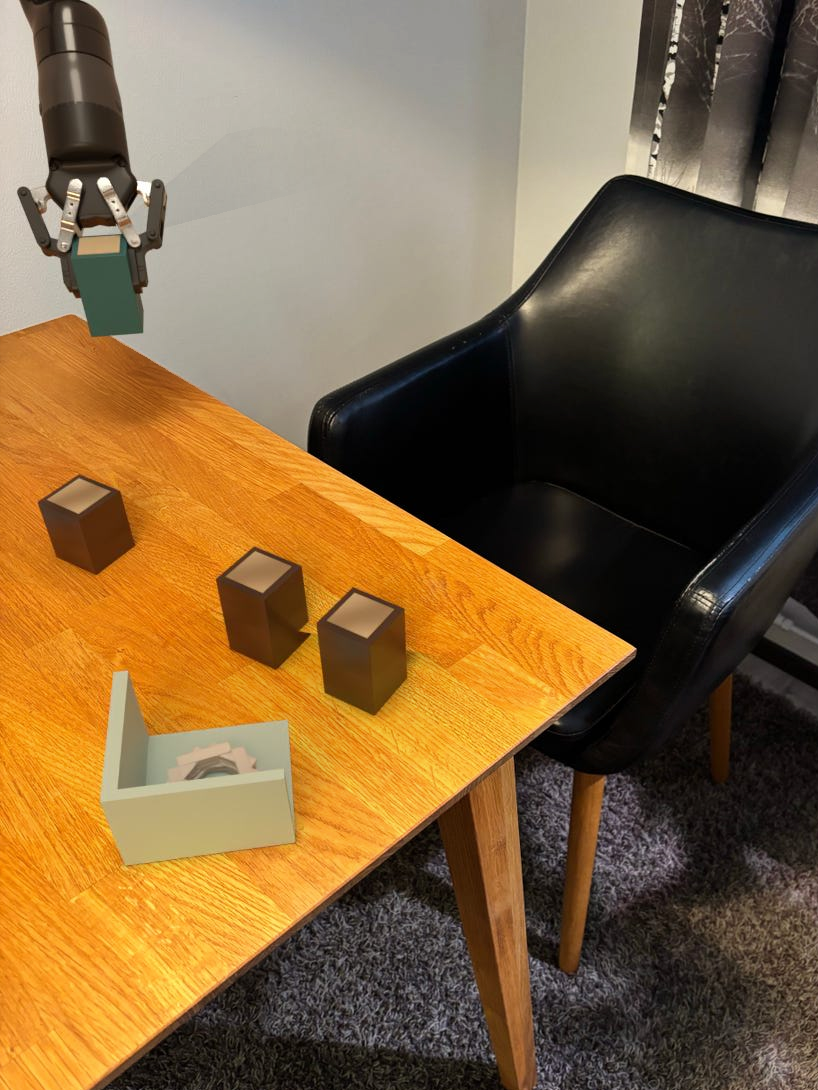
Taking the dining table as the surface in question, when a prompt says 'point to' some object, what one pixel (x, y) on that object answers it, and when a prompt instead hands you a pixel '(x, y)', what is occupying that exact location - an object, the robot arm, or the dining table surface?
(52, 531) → the walnut block
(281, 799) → the l-shaped corner panel
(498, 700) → the dining table surface
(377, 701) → the walnut block
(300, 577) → the walnut block
